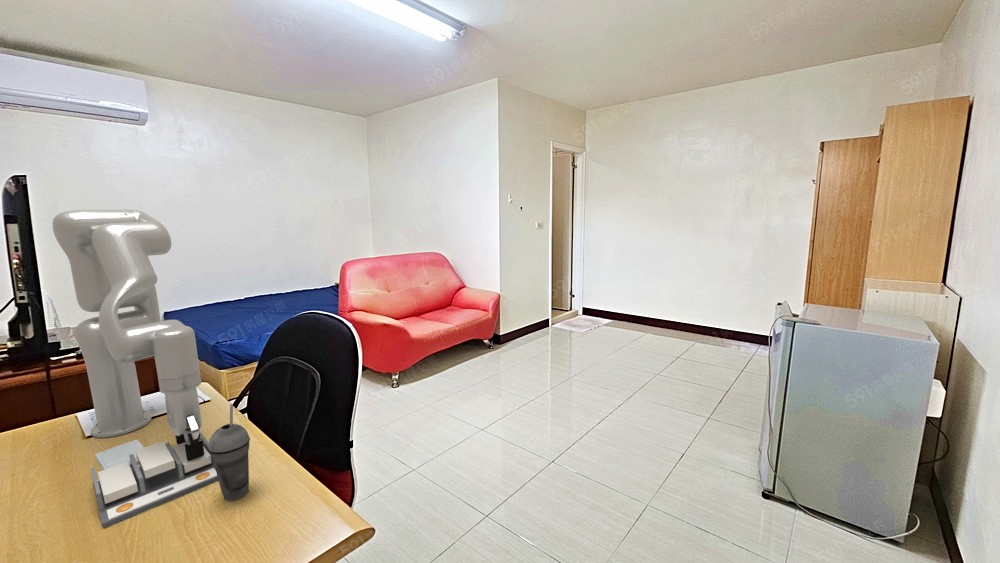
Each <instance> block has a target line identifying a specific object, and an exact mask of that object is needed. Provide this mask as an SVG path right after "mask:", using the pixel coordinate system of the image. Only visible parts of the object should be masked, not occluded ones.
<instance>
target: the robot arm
mask: <svg viewBox="0 0 1000 563" xmlns="http://www.w3.org/2000/svg"><path fill="white" fill-rule="evenodd" d="M52 230H53V235H54V237H55V239H56V241H57V243H58V244H59V246H60V248H61V249H62V251H63V252H64V254H65V256H66V257H67V259H68V262H69V265H70V269H71V276H72V281H73V282H72V283H73V286H74V292H75V296H76V301H77V303H78V306H79V307H80V308H81V310H83V311H85V312H89V313H98V316H96V317H91V318H87V319H85V320H83V321H80V323H79V324H77V325H76V327H75V329H74V336H75V340H76V343H77V345H78V348H79V349H80V351H81V354H82V357H83V360H84V364H85V367H86V372H87V377H88V383H89V387H90V392H91V393H90V394H91V397H92V398H91V399H92V403H93V408H94V414H95V418H96V419H95V420H96V424H95V425H93V426H92V427H91V428H90V435H91V436H92V437H94V438H99V439H101V438H110V437H111V438H112V437H117V436H121V435H125V434H128V433H131V432H134V431H136V430H138V429H140V428H143V427H145V426H146V425H148V424H149V423H150V421H151V420H152V414H151V413H150V412H146V411H144V409H143V403H142V398H141V397H142V396H141V392H140V386H139V380H138V375H137V370H136V369H137V368H136V363H135V362H137V361H140V360H143V359H144V360H146V359H149V358H151V357H154V361H155V362H154V363H155V368H156V374H157V380H158V387H159V392H160V393H161V394H164V398H165V407H166V416H167V417H166V420H167V424H168V426H169V428H170V430H171V431H172V432H173V434H174V435H175V441H176V445H178V444H182V443H185V442H186V444H185V451H186V457H187V460H188V461H190V460H193V459H196V458H199V457H201V456H203V455H204V448H203V440H202V437H201V434H200V429H201V428H202V426H203V420H202V414H201V407H200V401H199V395H198V390H197V388H199V386H200V385H201V384H202V378H201V372H200V370H201V369H200V364H199V355H198V349H197V348H198V347H197V341H196V340H197V339H196V335H195V334H196V333H195V330H194V329H193V328H192V327H191V326H188V325H185V324H184V323H183V322H182V321H180V320H178V319H166V320H161V313H160V308H159V306H160V305H159V301H158V300H159V299H158V293H157V289H156V284H157V283H158V276H157V274H156V271H155V269H154V267H153V265H152V263H151V261H150V258H149V257H150V256H162V255H165V254H168V253H169V252H170V250H171V247H172V239H171V235H170V233H169V232H168V230H167V228H166V227H165V226H164V224H162V223H161V222H160V221H159V220H157V219H156V218H154V217H152V216H150V215H149V214H147V213H146V212H144V211H141V210H138V209H137V210H136V209H77V210H76V209H75V210H74V209H73V210H67V211H63V212H59V213H58V214H56V215H55V216H54V217H53V219H52ZM130 307H133V308H134V310H130V311H129V310H128V311H124V312H123V311H122V312H118V311H119V310H120V309H124V308H130Z"/></svg>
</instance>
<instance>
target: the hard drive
mask: <svg viewBox="0 0 1000 563" xmlns="http://www.w3.org/2000/svg"><path fill="white" fill-rule="evenodd" d="M144 447H145V446H144V445H143V444H142V443H141V442H140V440H139V439H134V440H131V441H128V442H126V443H122V444H120V445H117V446H114V447H110V448H108V449H106V450H102V451H100V452H97V453H95V455H94V457H95V460H96V461H97V462H98V464H99V466H100V467H101V469H102V470H105V469H108V468H111V467H114V466H117V465H120V464H123V463H126V462H128V463H129V465H130V468H131V463H130V457H129V455H131V454H133V455H134V457H135V459H136V462H137V464H138V466H140V464H139V462H138V460H137V457H136V451H135V450H138V449H141V448H144ZM131 469H132V468H131Z"/></svg>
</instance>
